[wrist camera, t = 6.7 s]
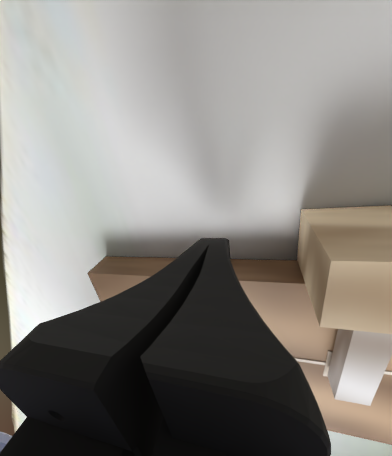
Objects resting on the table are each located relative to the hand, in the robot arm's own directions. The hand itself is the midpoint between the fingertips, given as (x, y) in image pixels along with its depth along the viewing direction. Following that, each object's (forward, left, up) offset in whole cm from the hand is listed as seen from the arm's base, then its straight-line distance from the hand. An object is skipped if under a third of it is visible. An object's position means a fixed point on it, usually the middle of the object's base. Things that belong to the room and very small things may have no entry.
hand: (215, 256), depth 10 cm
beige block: (-4, -7, -2) cm, 8 cm away
